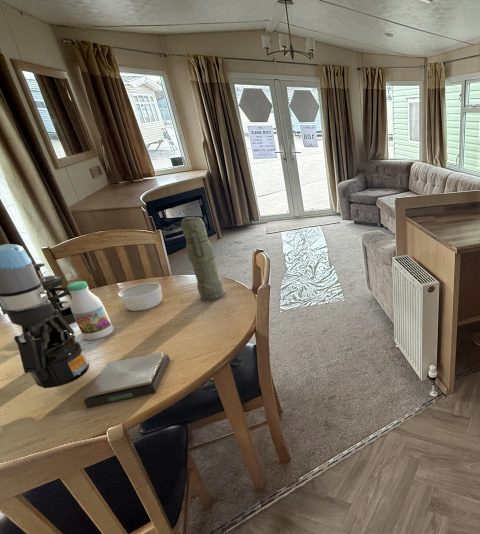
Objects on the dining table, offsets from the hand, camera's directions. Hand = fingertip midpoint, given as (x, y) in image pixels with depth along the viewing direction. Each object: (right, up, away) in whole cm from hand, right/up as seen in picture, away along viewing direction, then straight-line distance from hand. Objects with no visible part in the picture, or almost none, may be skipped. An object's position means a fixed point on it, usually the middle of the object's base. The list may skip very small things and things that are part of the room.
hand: (63, 372), depth 95 cm
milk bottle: (-15, +6, +25) cm, 30 cm away
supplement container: (0, -1, +1) cm, 2 cm away
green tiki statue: (+8, +17, +52) cm, 55 cm away
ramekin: (-15, +14, +44) cm, 48 cm away
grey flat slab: (+16, -1, +3) cm, 16 cm away
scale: (+16, -4, +4) cm, 17 cm away
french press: (-35, +9, +32) cm, 48 cm away
